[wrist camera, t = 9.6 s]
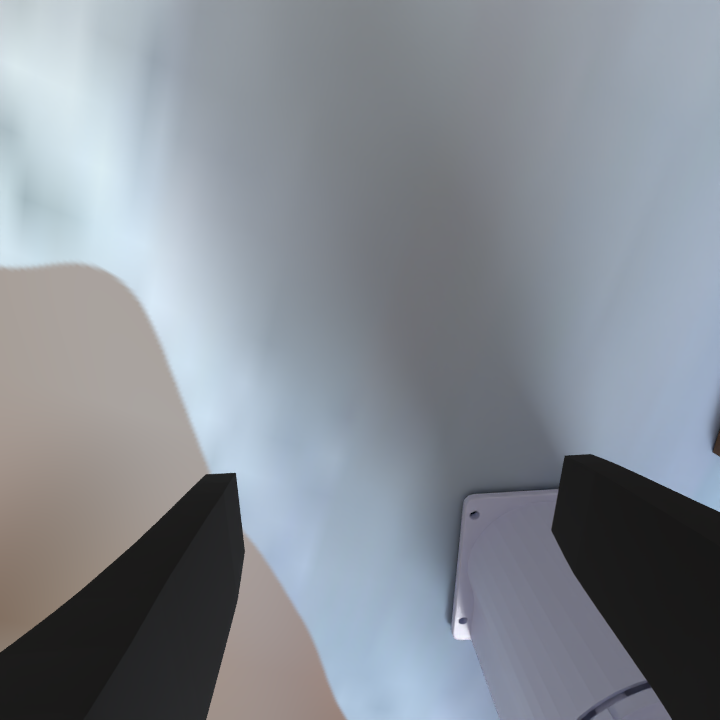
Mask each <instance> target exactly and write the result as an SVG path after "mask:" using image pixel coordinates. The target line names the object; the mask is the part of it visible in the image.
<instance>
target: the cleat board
mask: <svg viewBox="0 0 720 720" xmlns="http://www.w3.org/2000/svg"><path fill="white" fill-rule="evenodd" d="M713 453H715V454H717V455H718V456H720V431H719V434H718V437H717V440H716V443H715V446H714V449H713Z"/></svg>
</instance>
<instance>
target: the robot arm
mask: <svg viewBox="0 0 720 720" xmlns="http://www.w3.org/2000/svg"><path fill="white" fill-rule="evenodd" d="M474 511H476V513H474V514H472V515H471V514H470V513H472V512H474ZM244 553H245V549H244V540H243V532H242V523H241V514H240V505H239V497H238V488H237V479H236V473H225V474H206V475H205V476H204V477H203V478H202V479H201V480H200V481H199V482H198V483H197V484H196V485H194V486H193V487H192V488H191V489H190V490H189V491H188V492H187V493H186V494H185V495H184V496H183V497H182V498H181V499H180V500H179V501H178V502H177V503H176V504H175V505H174V506H173V507H172V508H171V509H170V510H169V511H168V512H167V513H166V514H165V515H164V516H163V517H162V518H161V519H160V520H159V521H158V522H157V523H156V524H155V525H153V526H152V527H151V528H150V530H148V531H147V532H146V533H145V534H144V535H143V536H142V537H141V538H140V539H139V540H138V541H137V542H136V543H135V544H133V545H132V546H131V547H130V548H129V549H128V550H127V551H125V552H124V553H123V554H122V555H121V556H120V557H119V558H118V559H116V560H115V561H114V562H113V563H112V564H111V565H109V566H108V567H107V568H106V569H105V570H104V571H103V572H102V573H100V574H99V575H98V576H97V577H96V578H95V579H93V580H92V581H91V582H90V583H89V584H88V585H87V586H85V587H84V588H83V589H82V590H81V591H79V592H78V593H77V594H76V595H75V596H73V597H72V598H71V599H70V600H68V601H67V602H66V603H65V604H63V605H62V606H61V607H60V608H58V609H57V610H56V611H55V612H53V613H52V614H51V615H49V616H48V617H47V618H46V619H45V620H43V621H42V622H40V623H39V624H38V625H36V626H35V627H34V628H33V629H31V630H30V631H28V632H27V633H26V634H24V635H23V636H22V637H21V638H19V639H18V640H17V641H15V642H14V643H13V644H11V645H10V646H8V647H7V648H6V649H4V650H3V651H2V652H0V720H206V718H207V714H208V711H209V707H210V703H211V699H212V696H213V692H214V688H215V684H216V680H217V677H218V673H219V669H220V665H221V662H222V658H223V654H224V650H225V647H226V643H227V639H228V635H229V631H230V628H231V623H232V620H233V616H234V612H235V608H236V604H237V600H238V594H239V587H240V581H241V574H242V566H243V560H244ZM451 632H452V635H453V637H454V638H455V639H457V640H468V639H471V640H472V643H473V646H474V648H475V651H476V654H477V657H478V660H479V662H480V665H481V668H482V671H483V674H484V676H485V679H486V682H487V685H488V688H489V690H490V693H491V696H492V699H493V701H494V704H495V707H496V710H497V713H498V715H499V718H500V720H720V512H718V511H716V510H714V509H712V508H710V507H707V506H705V505H703V504H701V503H699V502H697V501H694V500H692V499H690V498H688V497H686V496H684V495H682V494H679V493H677V492H675V491H673V490H671V489H669V488H667V487H665V486H662V485H660V484H658V483H656V482H654V481H652V480H650V479H647V478H645V477H643V476H641V475H639V474H637V473H635V472H632V471H630V470H628V469H626V468H624V467H621V466H619V465H617V464H614V463H612V462H610V461H607V460H605V459H602V458H600V457H597V456H594V455H591V454H587V455H568V456H565V458H564V463H563V468H562V474H561V479H560V485H559V489H550V490H533V491H516V492H500V493H483V494H472V495H469V496H467V497H466V498H465V500H464V502H463V511H462V521H461V532H460V542H459V552H458V562H457V573H456V583H455V593H454V604H453V614H452V624H451Z"/></svg>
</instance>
